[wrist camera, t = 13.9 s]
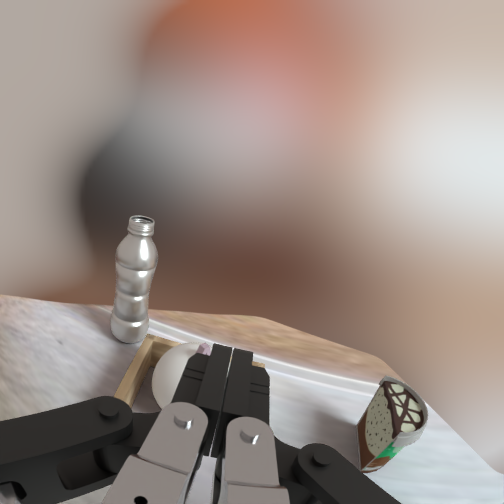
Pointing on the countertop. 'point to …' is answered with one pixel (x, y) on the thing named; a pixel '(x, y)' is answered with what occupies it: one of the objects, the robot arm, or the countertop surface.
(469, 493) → the countertop surface
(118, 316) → the plastic bottle
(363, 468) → the food container
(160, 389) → the ornament
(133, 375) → the bay
